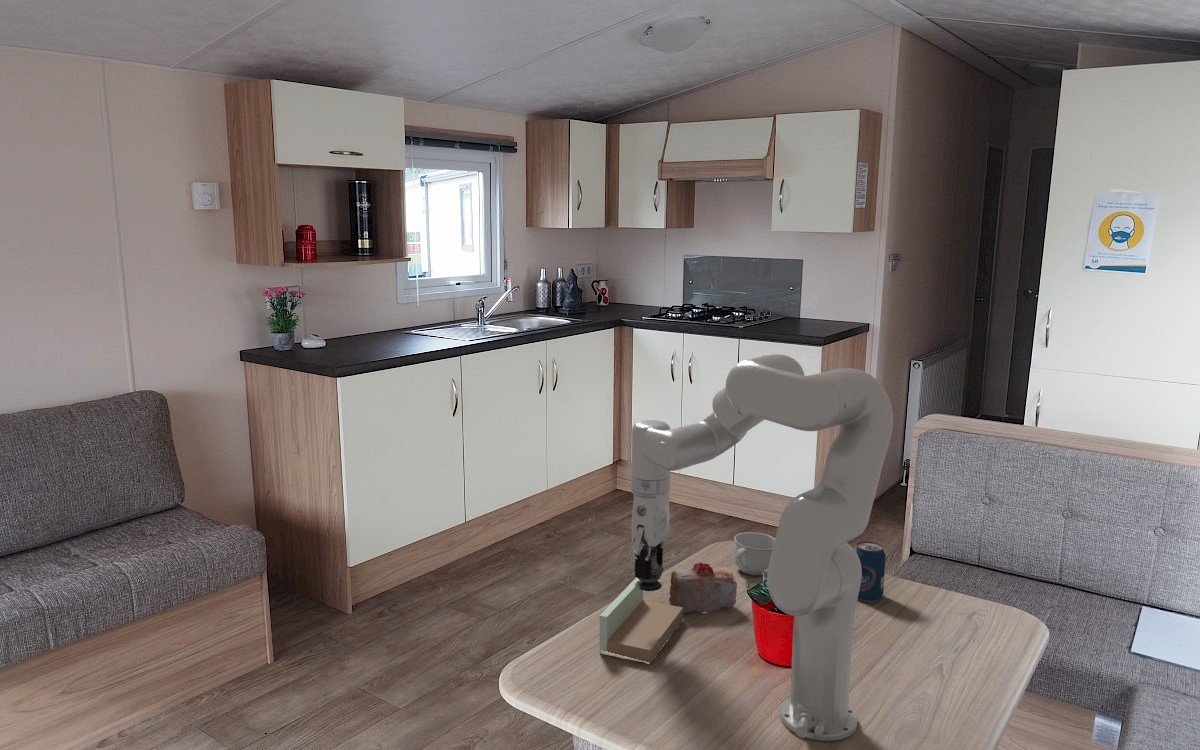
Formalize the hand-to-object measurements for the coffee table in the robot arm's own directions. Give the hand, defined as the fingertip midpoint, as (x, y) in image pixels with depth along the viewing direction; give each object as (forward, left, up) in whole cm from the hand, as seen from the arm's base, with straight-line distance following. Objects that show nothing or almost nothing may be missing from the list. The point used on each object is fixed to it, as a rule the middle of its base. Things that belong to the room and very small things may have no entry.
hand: (648, 570), depth 170 cm
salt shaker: (0, 0, -3) cm, 3 cm away
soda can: (+39, -38, -15) cm, 56 cm away
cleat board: (+1, +1, -15) cm, 15 cm away
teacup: (+42, -11, -15) cm, 46 cm away
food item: (+19, -6, -15) cm, 25 cm away
